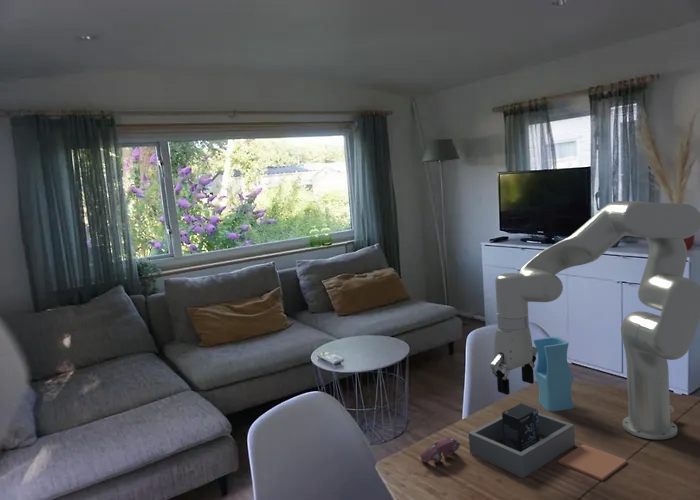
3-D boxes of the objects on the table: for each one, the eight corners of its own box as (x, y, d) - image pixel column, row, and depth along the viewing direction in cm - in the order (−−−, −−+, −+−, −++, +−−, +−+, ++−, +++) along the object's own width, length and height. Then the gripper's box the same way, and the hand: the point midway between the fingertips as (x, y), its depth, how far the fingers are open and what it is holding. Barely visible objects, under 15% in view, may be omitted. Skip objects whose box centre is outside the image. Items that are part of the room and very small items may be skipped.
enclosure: (521, 424, 145) (520, 406, 145) (575, 444, 132) (574, 424, 131) (470, 452, 133) (468, 432, 133) (523, 478, 120) (521, 455, 119)
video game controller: (428, 472, 129) (433, 454, 126) (418, 457, 133) (423, 439, 129) (458, 459, 134) (464, 441, 130) (448, 446, 137) (453, 428, 133)
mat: (583, 446, 131) (583, 444, 131) (627, 462, 122) (626, 460, 121) (558, 462, 124) (558, 460, 124) (602, 481, 115) (601, 478, 115)
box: (521, 458, 128) (518, 418, 127) (503, 450, 133) (500, 411, 132) (541, 447, 132) (538, 408, 131) (523, 440, 137) (520, 402, 136)
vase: (536, 401, 159) (532, 339, 157) (560, 397, 160) (556, 336, 157) (549, 412, 151) (545, 346, 149) (574, 408, 152) (570, 343, 150)
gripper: (521, 313, 137) (524, 374, 138) (478, 327, 127) (481, 393, 129) (546, 317, 130) (549, 382, 132) (502, 332, 121) (506, 401, 123)
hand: (516, 387), depth 130 cm, fingers open, 9 cm apart
